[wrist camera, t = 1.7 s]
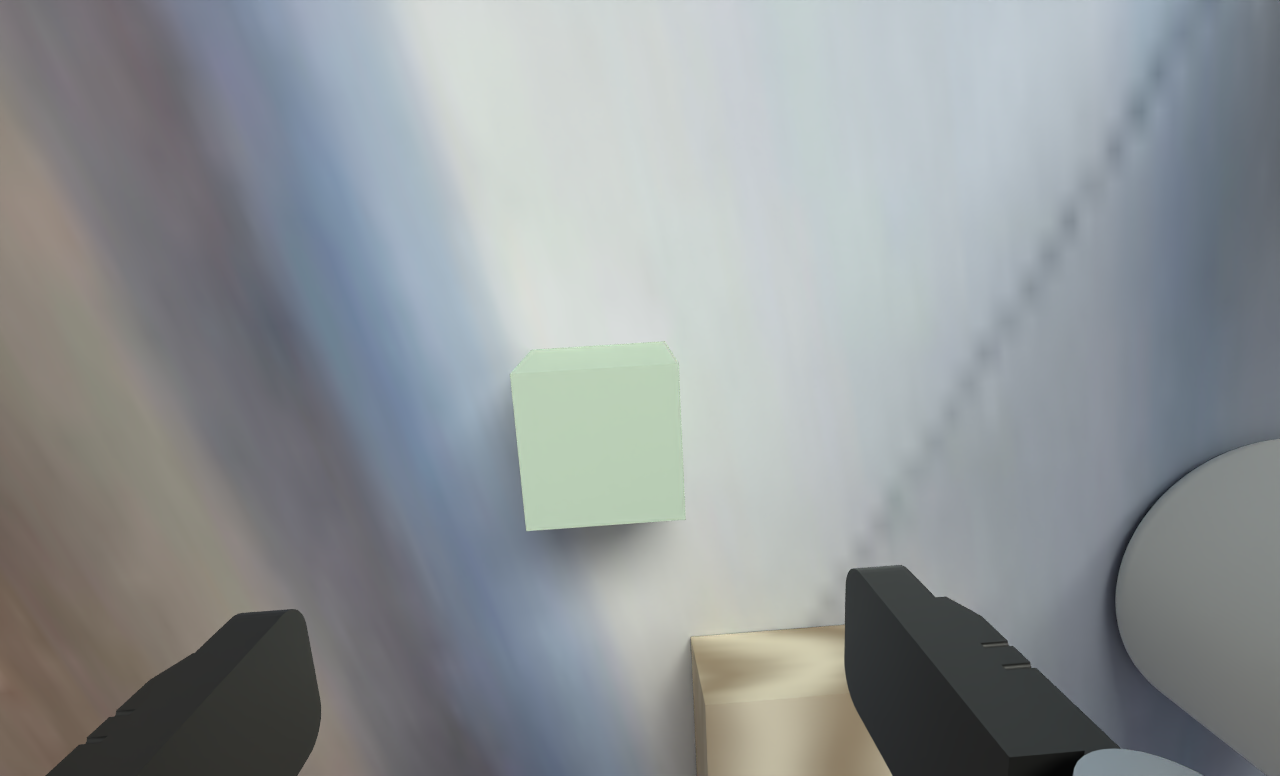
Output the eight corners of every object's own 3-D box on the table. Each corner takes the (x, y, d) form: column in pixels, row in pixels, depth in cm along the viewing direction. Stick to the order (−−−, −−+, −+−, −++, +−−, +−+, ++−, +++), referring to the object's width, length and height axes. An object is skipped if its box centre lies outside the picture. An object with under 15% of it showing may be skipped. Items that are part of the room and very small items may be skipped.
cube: (664, 341, 23) (678, 363, 18) (670, 466, 24) (685, 519, 19) (531, 349, 23) (509, 374, 18) (543, 475, 24) (526, 531, 19)
